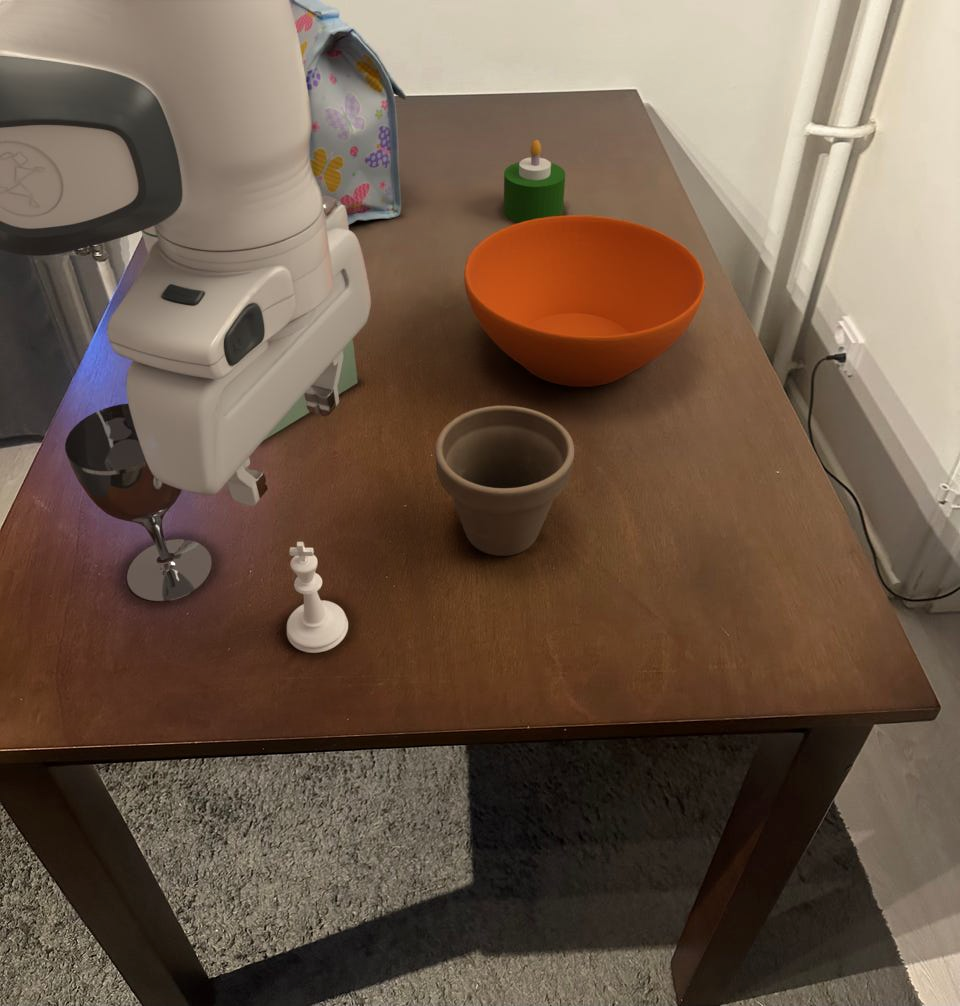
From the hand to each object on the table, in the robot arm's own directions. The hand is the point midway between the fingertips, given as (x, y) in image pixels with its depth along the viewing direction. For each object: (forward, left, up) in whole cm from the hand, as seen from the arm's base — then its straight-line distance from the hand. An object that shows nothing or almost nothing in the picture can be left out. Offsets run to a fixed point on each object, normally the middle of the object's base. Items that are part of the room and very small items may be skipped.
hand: (289, 450), depth 59 cm
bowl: (+45, +9, -19) cm, 50 cm away
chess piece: (0, +1, -19) cm, 19 cm away
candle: (+68, +34, -19) cm, 78 cm away
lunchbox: (+18, +28, -19) cm, 38 cm away
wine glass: (-5, +15, -19) cm, 25 cm away
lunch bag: (+52, +58, -19) cm, 80 cm away
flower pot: (+18, -3, -19) cm, 27 cm away
